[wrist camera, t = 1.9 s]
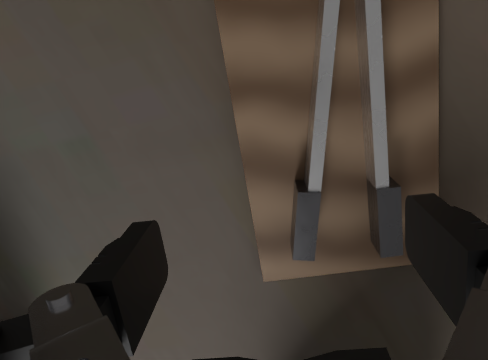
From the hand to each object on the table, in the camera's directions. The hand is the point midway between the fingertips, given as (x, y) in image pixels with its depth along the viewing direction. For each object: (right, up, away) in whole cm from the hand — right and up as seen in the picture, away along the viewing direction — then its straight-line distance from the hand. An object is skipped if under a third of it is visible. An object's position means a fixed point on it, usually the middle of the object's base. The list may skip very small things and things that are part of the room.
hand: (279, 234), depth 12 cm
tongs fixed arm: (+8, +10, +16) cm, 21 cm away
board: (+6, +10, +18) cm, 21 cm away
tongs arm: (+4, +8, +17) cm, 19 cm away
